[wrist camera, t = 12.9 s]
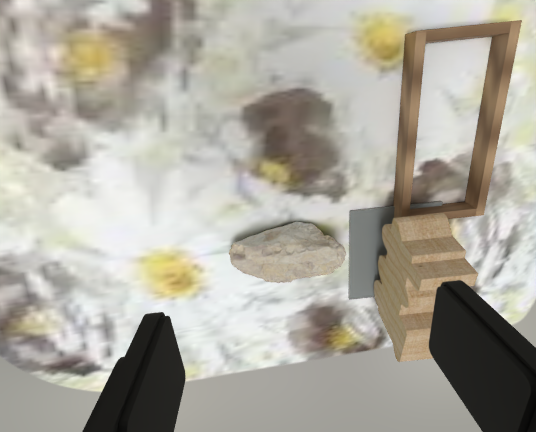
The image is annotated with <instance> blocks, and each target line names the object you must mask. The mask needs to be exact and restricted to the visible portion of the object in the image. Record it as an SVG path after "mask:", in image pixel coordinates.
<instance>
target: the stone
mask: <svg viewBox="0 0 536 432" xmlns="http://www.w3.org/2000/svg"><path fill="white" fill-rule="evenodd" d="M229 255H230V258H231V263H232V265H233V266H234V267H236V268H237V269H238V270H240V271H242V272H243V273H245V274H249V275H252V276H255V277H257V278H262V279H264V280H265V281H267V282H277V283H280V282H291V281H292V280H295V279H298V278H304V277H308V278H310V277H312V276H317V275H318V276H320V275H326V274H331V273H333V272H334V269H336V268H338V267H340V266H341V265H342V263H343V261H344V260H345V255H346V252H345V249H344V247H343V245H341V244H339V243H338V242H337V241H336V240H335V239H334V238H333V237H330V235H326V236H325V235H323V233H322V232H321V230H319V229H318V228H317V227H316V226H315V225H313V224H312V223H303V222H293V223H292V224H288V225H286V226H282V227H277V228H274V229H270V230H266V231H263V232H261V233H259V234H257V235H253V236H250V237H247V238H246V239H243V240H242V241H238V242H234V243H233V245H232V246H231V249H230V252H229Z"/></svg>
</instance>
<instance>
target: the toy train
mask: <svg viewBox="0 0 536 432" xmlns="http://www.w3.org/2000/svg"><path fill="white" fill-rule="evenodd" d="M382 239H383V242H384V245H385V247H386V249H387V255H381V256H379V260H378V270H379V275H380V279H381V280H376V281H375V282H374V296H375V299H376V303H377V305H378V311H379V314H380V316H381V318H382V321H383V323H384V325H385V327H386V329H387V332H388V334H389V336H390V338H391V340H392V342H393V346H394V352H395V356H396V359H397V361H399V362H402V361H411V360H421V359H431V358H433V357H432V355H431V353H430V350H429V338H430V331H431V324H432V317H433V311H434V304H435V297H436V290H437V288H438V287H440V286H441V284H442V282H446V281H456V280H462V281H463V282H465V283H466V284H467V285H468V286H474V284H475V281H476V279H477V276H478V273H477V272H476V271H475V269H474V268H473V267H472V266H471V265H470V264H469V263H468V262H467V260H466V259H465V254H466V250H465V249H464V248H463V247H462V246H461V245H460V244H459V243H458V242H457V241H456V239H455V238H454V237H453V236H452V232H451V229H450V225H449V222H448V218H447V216H446V215H445V214H444V213H436V214H427V215H417V216H408V217H398V218H393V221H392V224H385V225H384V226H383V228H382Z"/></svg>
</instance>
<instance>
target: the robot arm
mask: <svg viewBox="0 0 536 432" xmlns="http://www.w3.org/2000/svg"><path fill="white" fill-rule="evenodd" d="M429 350H430V353H431V355H432V357H433V358H434V360H435V361H436V363H437V364H438V366H439V367H440V369H441V370H442V372H443V373H444V375H445V376H446V378H447V379H448V381H449V382H450V384H451V385H452V387H453V388H454V390H455V391H456V393H457V394H458V396H459V397H460V399H461V400H462V401H463V403H464V404H465V406H466V408H467V409H468V411H469V412H470V413H471V415H472V416H473V418H474V420H475V421H476V422H477V424H478V425H479V427H480V428H481V430H482V431H483V432H536V348H535V347H534V346H533V345H532V344H531V343H530V342H529V341H528V340H527V339H526V338H524V337H523V336H522V335H521V334H520V333H519V332H518V331H517V330H516V329H515V328H514V327H513V326H511V325H510V324H509V323H508V322H507V321H506V320H505V319H504V318H503V317H502V316H501V315H499V314H498V313H497V312H496V311H495V310H494V309H493V308H492V307H491V306H490V305H489V304H488V303H486V302H485V301H484V300H483V299H482V298H481V297H480V296H479V295H478V294H477V293H476V292H474V291H473V290H472V289H471V288H470V287H469V286H468V285H467V284H466V283H465V282H463V281H462V280H456V281H446V282H442V284H441V286H440V287H438V288H437V290H436V297H435V304H434V311H433V317H432V324H431V331H430V338H429ZM184 384H185V370H184V366H183V362H182V359H181V355H180V352H179V348H178V344H177V341H176V337H175V334H174V330H173V326H172V323H171V319H170V317H169V316H165V315H164V313H163V312H159V313H150V314H145V315H144V317H143V319H142V321H141V323H140V325H139V327H138V330H137V332H136V334H135V336H134V338H133V340H132V342H131V344H130V347H129V349H128V351H127V353H126V355H125V357H121V358H120V359H119V360H118V361H117V363H116V365H115V367H114V369H113V371H112V373H111V375H110V377H109V379H108V381H107V383H106V385H105V387H104V389H103V391H102V393H101V395H100V397H99V399H98V401H97V403H96V405H95V407H94V409H93V411H92V413H91V416H90V418H89V419H88V421H87V424H86V426H85V428H84V430H83V432H174V428H175V424H176V419H177V415H178V411H179V406H180V402H181V397H182V393H183V388H184Z"/></svg>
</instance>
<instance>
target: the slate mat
mask: <svg viewBox="0 0 536 432" xmlns="http://www.w3.org/2000/svg"><path fill="white" fill-rule="evenodd" d="M434 206H442V201H436V202H426V203H417V204H410V209H415V208H424V207H434ZM394 209H395V207H394V206H389V207H379V208H370V209H360V210H351V211H350V219H349V300H350V299H359V298H368V297H375V296H374V282H375V281H376V280H381V279H380V275H379V270H378V260H379V256H381V255H387V249H386V247H385V245H384V242H383V239H382V228H383V226H384V225H385V224H392V221H393V218H394Z"/></svg>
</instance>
